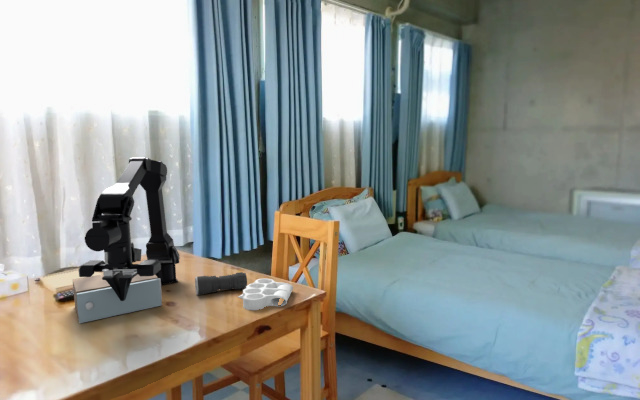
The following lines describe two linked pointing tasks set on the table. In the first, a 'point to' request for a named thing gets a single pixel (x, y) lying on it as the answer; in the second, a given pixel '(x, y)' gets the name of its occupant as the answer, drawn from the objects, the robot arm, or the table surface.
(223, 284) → the flashlight
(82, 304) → the door
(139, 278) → the cubby
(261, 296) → the white multi-hole tray
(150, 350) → the table surface
